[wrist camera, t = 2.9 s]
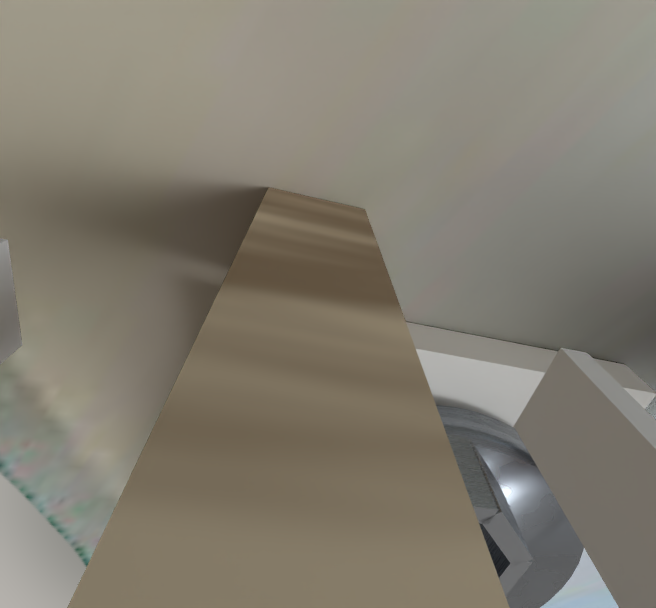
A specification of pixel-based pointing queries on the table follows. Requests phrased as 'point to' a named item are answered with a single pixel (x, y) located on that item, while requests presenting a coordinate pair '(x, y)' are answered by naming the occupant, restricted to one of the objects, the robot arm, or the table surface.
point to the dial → (513, 508)
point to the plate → (495, 372)
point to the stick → (297, 446)
